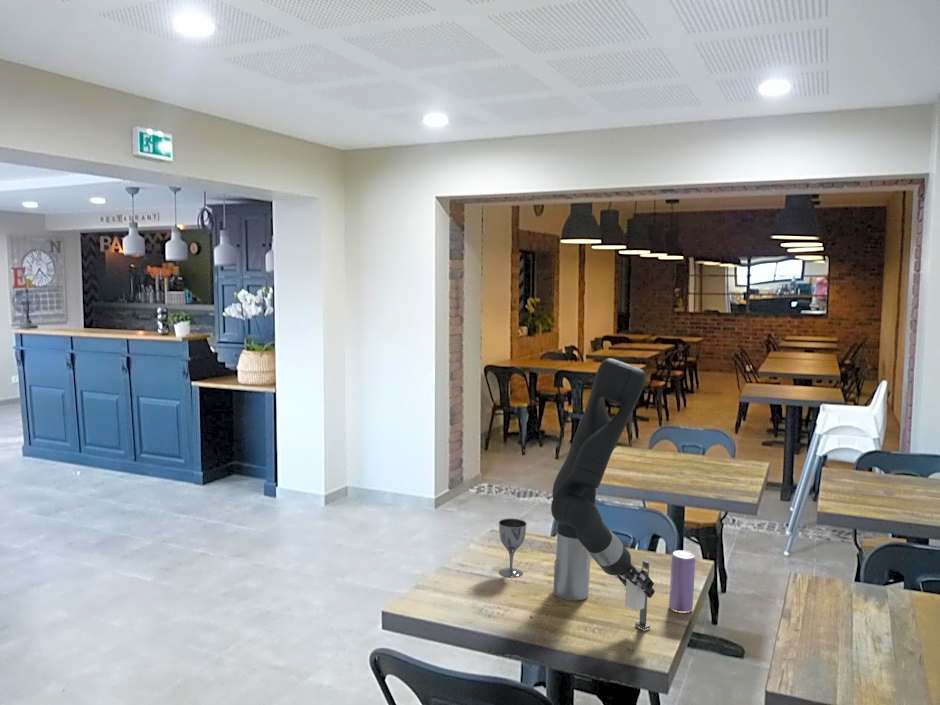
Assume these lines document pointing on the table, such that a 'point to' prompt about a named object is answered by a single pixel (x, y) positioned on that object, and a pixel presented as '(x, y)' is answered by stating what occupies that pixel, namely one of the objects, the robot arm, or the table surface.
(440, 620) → the table surface
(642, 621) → the rail
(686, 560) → the beverage can
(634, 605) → the fader knob
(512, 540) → the wine glass
